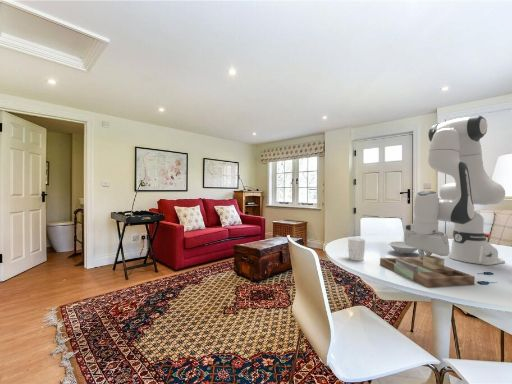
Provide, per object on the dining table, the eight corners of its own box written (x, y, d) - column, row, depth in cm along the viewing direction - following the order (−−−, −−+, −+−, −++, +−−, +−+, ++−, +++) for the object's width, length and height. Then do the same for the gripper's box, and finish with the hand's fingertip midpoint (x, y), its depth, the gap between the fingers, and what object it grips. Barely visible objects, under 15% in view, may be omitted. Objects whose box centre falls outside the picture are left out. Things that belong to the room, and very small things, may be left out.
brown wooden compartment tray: (418, 263, 118) (418, 251, 118) (474, 284, 92) (474, 269, 92) (380, 264, 114) (380, 252, 114) (427, 287, 89) (427, 272, 89)
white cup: (367, 258, 124) (367, 239, 123) (361, 262, 118) (361, 241, 118) (351, 255, 129) (351, 236, 129) (345, 258, 123) (345, 238, 123)
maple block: (433, 264, 105) (433, 255, 105) (443, 268, 100) (444, 259, 100) (422, 265, 104) (423, 255, 104) (433, 269, 100) (433, 259, 99)
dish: (396, 248, 146) (397, 240, 145) (425, 254, 134) (425, 244, 134) (383, 253, 135) (383, 244, 134) (412, 259, 123) (412, 249, 123)
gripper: (454, 233, 97) (453, 268, 97) (413, 225, 117) (412, 254, 117) (440, 233, 96) (439, 268, 96) (401, 225, 116) (400, 254, 116)
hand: (424, 260), depth 107 cm, fingers closed
